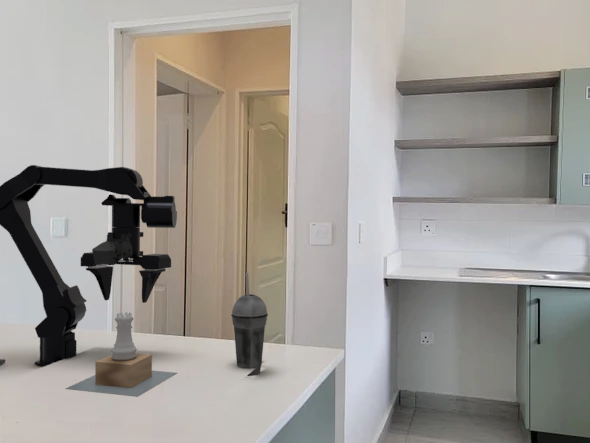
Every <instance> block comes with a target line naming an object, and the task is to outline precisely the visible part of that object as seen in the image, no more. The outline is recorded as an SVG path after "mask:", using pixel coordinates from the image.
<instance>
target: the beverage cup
mask: <svg viewBox="0 0 590 443" xmlns="http://www.w3.org/2000/svg"><path fill="white" fill-rule="evenodd" d="M245 285H246V286H245V287H246V288H245V289H246V294H244V295H242V296H240V297H239V298H238V299H237V300H236V301H235V302H234V304H233V306H232V312H231V317H232V318H231V321H232V325H233V332H234V344H235V358H236V360H235V361H236V366H237V367H238V368H241V369H245V370H246V369H254V370H252V371H250V372H249V373H248V374H247V375H246V377H251V376H258V375H260V374H261V370H262V362H263V361H262V360H263V351H264V339H265V330H266V329H265V328H266V325H267V320H268V319H267V318H268V310H267V305H266V302H264V300H263V299H262V298H261V297H260V296H258V295H256V294H250V284H249V272H245Z"/></svg>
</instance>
